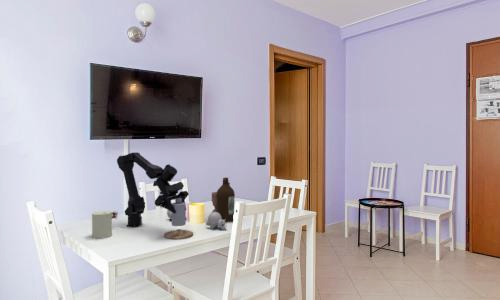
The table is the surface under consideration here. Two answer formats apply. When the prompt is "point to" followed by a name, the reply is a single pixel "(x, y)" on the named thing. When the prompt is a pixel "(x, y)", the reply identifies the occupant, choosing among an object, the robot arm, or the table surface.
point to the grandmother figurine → (114, 213)
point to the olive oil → (225, 201)
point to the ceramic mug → (169, 214)
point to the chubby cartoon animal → (215, 221)
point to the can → (101, 224)
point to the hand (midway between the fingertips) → (180, 211)
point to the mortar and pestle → (215, 200)
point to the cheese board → (178, 234)
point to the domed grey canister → (179, 213)
